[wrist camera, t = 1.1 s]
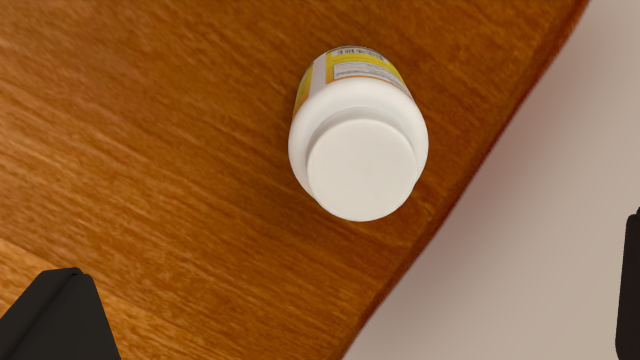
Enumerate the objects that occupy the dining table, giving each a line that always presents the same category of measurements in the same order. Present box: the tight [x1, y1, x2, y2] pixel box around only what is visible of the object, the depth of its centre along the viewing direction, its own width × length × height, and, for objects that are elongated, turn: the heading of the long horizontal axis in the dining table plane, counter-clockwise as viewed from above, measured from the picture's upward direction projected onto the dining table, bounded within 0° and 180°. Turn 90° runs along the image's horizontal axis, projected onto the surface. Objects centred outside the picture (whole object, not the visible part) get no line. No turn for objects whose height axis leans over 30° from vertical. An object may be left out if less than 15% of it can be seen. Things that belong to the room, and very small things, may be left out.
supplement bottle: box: [288, 46, 428, 221], centre depth 24 cm, size 6×6×10 cm
